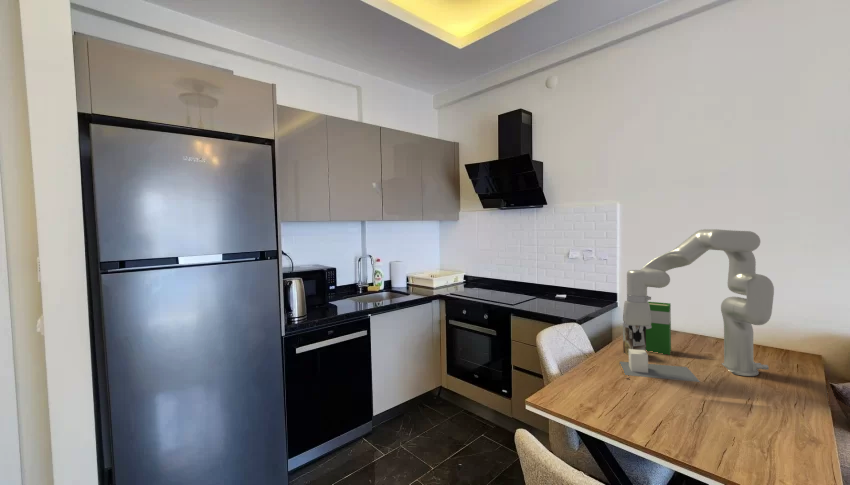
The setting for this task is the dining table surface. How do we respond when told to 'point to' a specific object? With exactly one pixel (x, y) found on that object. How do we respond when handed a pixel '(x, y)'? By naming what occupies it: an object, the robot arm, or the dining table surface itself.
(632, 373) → the board
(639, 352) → the small cream cube
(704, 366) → the dining table surface
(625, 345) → the coffee box
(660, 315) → the hardback book
